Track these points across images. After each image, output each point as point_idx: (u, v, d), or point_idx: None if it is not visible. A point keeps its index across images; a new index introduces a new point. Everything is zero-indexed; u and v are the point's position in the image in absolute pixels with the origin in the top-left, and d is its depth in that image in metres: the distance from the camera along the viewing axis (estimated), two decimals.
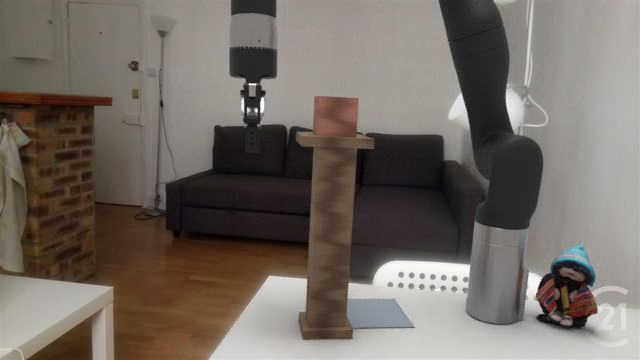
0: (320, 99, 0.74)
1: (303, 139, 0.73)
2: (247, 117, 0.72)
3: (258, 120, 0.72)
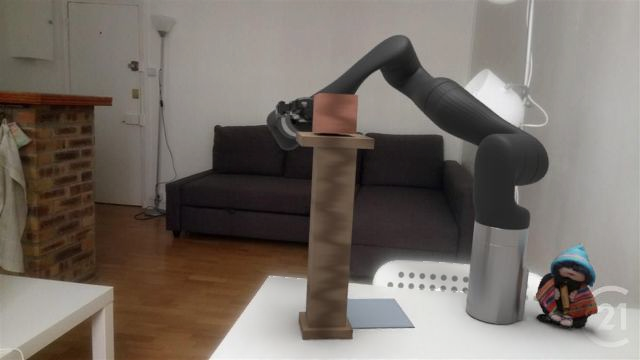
0: (320, 96, 0.75)
1: (303, 139, 0.73)
2: (279, 111, 0.94)
3: (279, 103, 0.94)
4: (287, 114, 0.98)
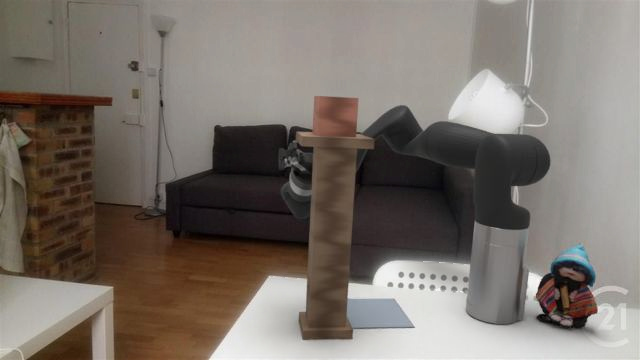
0: (320, 99, 0.75)
1: (303, 139, 0.73)
2: (279, 158, 1.02)
3: (279, 150, 1.02)
4: (289, 164, 1.06)
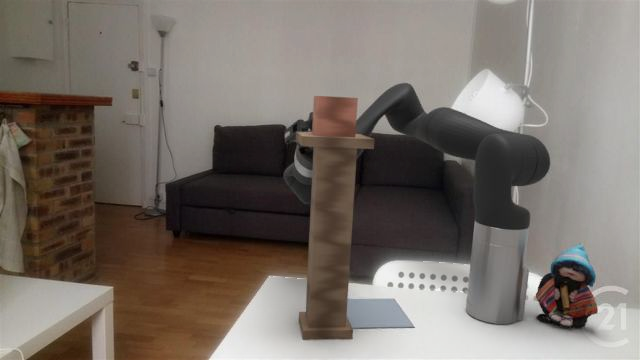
0: (319, 99, 0.75)
1: (303, 139, 0.73)
2: None
3: (298, 121, 0.90)
4: None
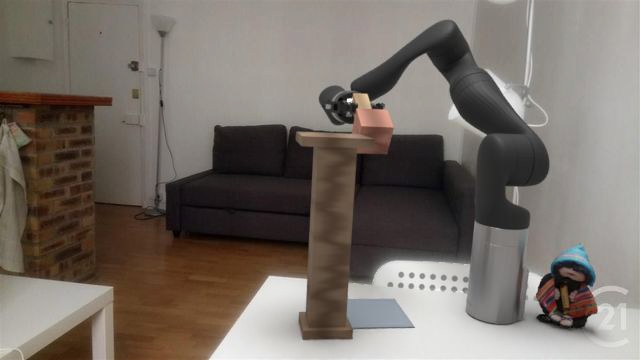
0: (361, 128, 0.88)
1: (303, 139, 0.73)
2: (338, 110, 1.03)
3: (339, 103, 1.02)
4: None
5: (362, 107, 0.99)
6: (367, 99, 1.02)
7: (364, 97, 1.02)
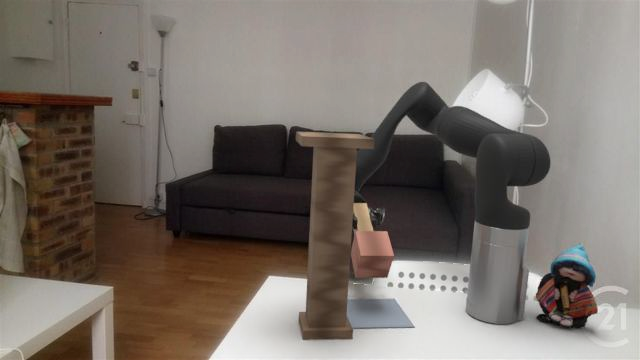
0: (361, 257, 0.86)
1: (303, 139, 0.73)
2: None
3: None
4: None
5: (362, 222, 0.97)
6: (366, 211, 1.00)
7: (363, 208, 1.00)
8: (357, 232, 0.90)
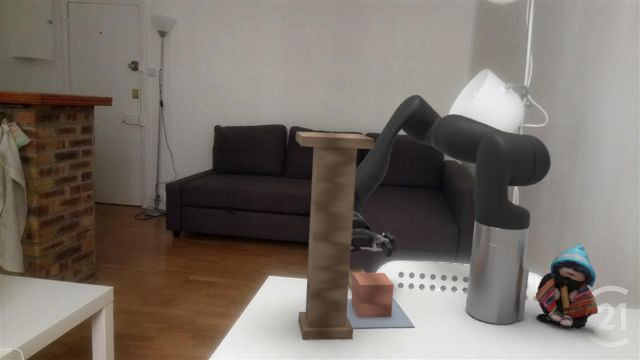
0: (360, 287, 0.86)
1: (303, 139, 0.73)
2: None
3: None
4: None
5: None
6: (363, 272, 1.01)
7: (360, 270, 1.02)
8: (355, 273, 0.91)
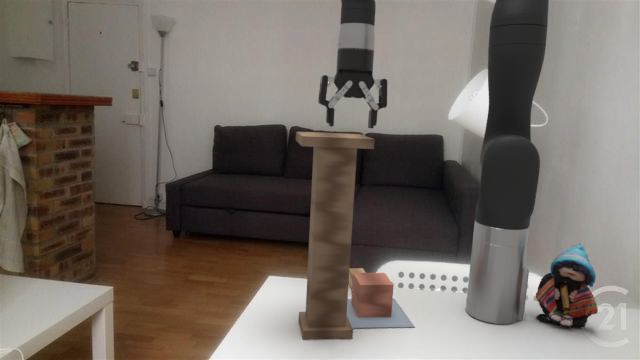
0: (360, 287, 0.86)
1: (303, 139, 0.73)
2: (319, 99, 1.03)
3: (319, 101, 1.02)
4: None
5: None
6: (363, 272, 1.01)
7: (360, 270, 1.02)
8: (355, 273, 0.91)
